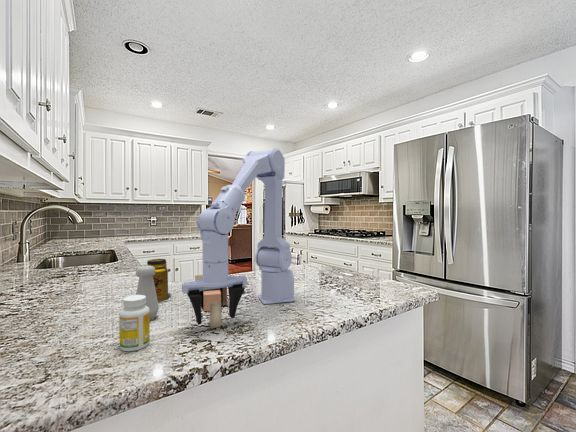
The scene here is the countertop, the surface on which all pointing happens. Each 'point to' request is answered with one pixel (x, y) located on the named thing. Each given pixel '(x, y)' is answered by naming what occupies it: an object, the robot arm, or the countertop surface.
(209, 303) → the cord block
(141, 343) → the supplement bottle
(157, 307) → the salt shaker
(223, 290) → the panel
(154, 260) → the condiment
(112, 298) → the countertop surface
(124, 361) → the countertop surface
